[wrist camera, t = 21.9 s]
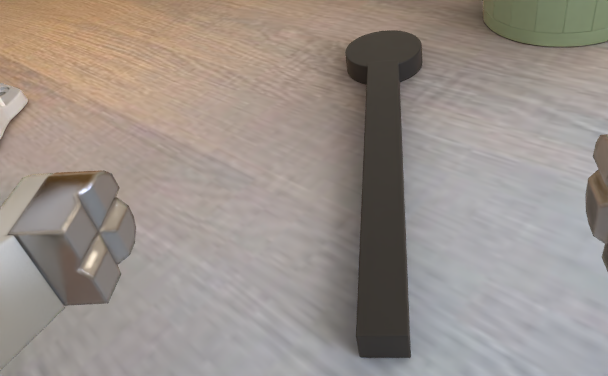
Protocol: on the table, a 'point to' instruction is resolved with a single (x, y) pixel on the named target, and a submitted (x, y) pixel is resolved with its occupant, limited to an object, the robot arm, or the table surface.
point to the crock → (548, 21)
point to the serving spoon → (383, 193)
